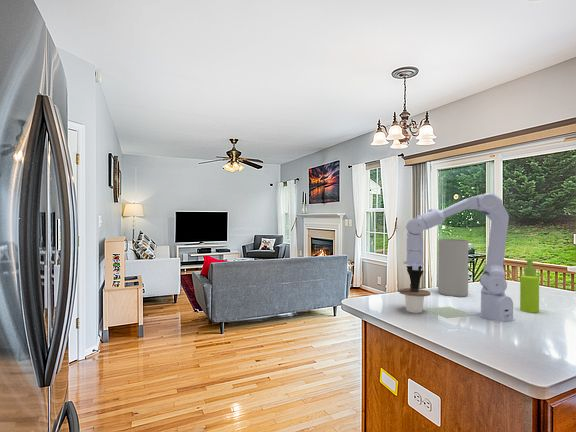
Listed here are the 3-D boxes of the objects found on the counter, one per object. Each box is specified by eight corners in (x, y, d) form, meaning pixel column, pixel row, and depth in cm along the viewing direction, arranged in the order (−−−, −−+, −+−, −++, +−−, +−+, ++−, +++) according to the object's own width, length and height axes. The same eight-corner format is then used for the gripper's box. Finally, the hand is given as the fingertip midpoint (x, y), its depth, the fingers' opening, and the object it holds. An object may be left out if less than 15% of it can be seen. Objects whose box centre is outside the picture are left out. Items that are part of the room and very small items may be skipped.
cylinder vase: (474, 295, 153) (474, 240, 153) (453, 298, 149) (454, 241, 149) (451, 290, 165) (452, 238, 165) (432, 292, 160) (432, 239, 160)
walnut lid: (436, 295, 124) (436, 286, 124) (411, 297, 120) (411, 288, 120) (417, 289, 134) (417, 281, 134) (393, 290, 131) (393, 282, 131)
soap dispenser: (545, 313, 126) (545, 259, 126) (524, 312, 127) (524, 259, 127) (537, 309, 132) (537, 257, 132) (517, 308, 133) (517, 257, 133)
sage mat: (474, 316, 122) (474, 315, 122) (446, 318, 118) (446, 317, 118) (449, 307, 133) (449, 306, 133) (423, 309, 130) (423, 308, 130)
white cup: (427, 314, 124) (427, 295, 124) (408, 314, 124) (408, 294, 124) (420, 309, 131) (420, 291, 131) (402, 308, 131) (402, 290, 131)
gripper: (403, 248, 135) (403, 282, 135) (403, 251, 122) (403, 289, 122) (422, 249, 133) (422, 283, 133) (424, 252, 119) (424, 291, 119)
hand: (414, 286), depth 127 cm, fingers open, 7 cm apart
